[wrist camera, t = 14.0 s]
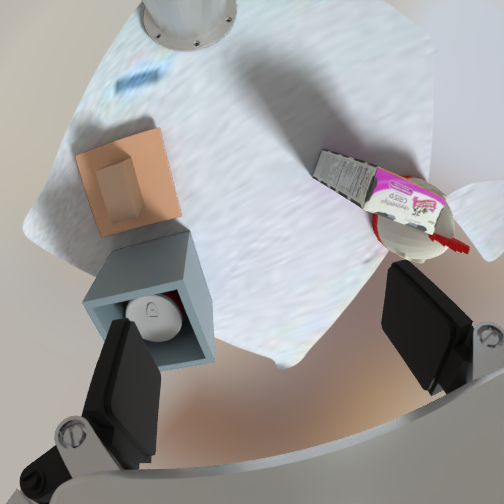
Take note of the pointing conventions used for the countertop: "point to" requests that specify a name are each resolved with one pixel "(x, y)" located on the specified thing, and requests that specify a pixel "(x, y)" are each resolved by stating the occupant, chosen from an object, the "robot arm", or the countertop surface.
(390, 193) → the candy bar box
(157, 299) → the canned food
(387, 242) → the kitchen timer
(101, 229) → the lid
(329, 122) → the countertop surface
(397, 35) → the countertop surface
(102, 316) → the box
